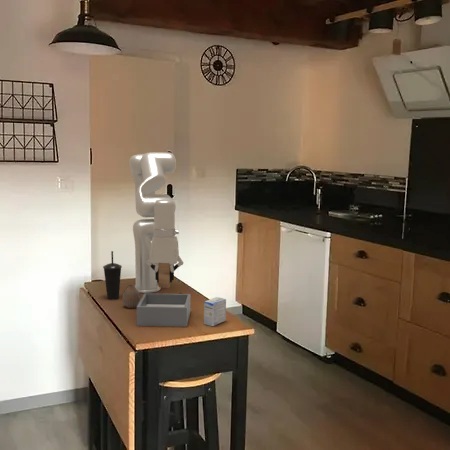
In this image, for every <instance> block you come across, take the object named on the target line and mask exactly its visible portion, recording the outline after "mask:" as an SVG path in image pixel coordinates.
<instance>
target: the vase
mask: <svg viewBox="0 0 450 450" xmlns="http://www.w3.org/2000/svg"><path fill="white" fill-rule="evenodd" d="M134 285H135V284H129V285H128V286H127V288H126V289H125V290H124V291H123V294H122V303H123V305H124V306H125V308H127V309H134V308H137V305H138V304H139V302H140V300H141V295H140V294H141V293H139V292H138V290H137V289H136V288H135V286H134Z"/></svg>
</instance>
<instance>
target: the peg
mask: <svg viewBox="0 0 450 450" xmlns="http://www.w3.org/2000/svg"><path fill="white" fill-rule="evenodd" d="M170 270H171V269H170V264H169V263H159V283H158V285H159V287H161V289H162V288H170V287H171V284H172V283H170Z"/></svg>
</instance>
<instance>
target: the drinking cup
mask: <svg viewBox="0 0 450 450" xmlns="http://www.w3.org/2000/svg"><path fill="white" fill-rule="evenodd" d="M110 253H111V254H110V255H111V262H110V263H106V264H104V265H103V266H102V268H103V272H104V281H105V290H106V291H105V292H106V299H108V300H118V299H119V298H120V289H121V287H120V286H121V276H122V275H121V273H122V272H121V271H122V268H123V267H122V265H121V264H119V263H115V262H114V251H111V252H110Z"/></svg>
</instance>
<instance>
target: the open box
mask: <svg viewBox="0 0 450 450" xmlns="http://www.w3.org/2000/svg"><path fill="white" fill-rule="evenodd" d="M191 295H192V294H191V293H155V292H151V293H143V295H142V296H141V297H140V302H139V304H138V305H137V307H136V326H137V327H138V326H139V327H150V326H151V327H180V328H181V327H184V328H186V327H187V326H188V324H189V323H188V322H189V320H190V315H191V304H192V303H191V302H192V301H191Z"/></svg>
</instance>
